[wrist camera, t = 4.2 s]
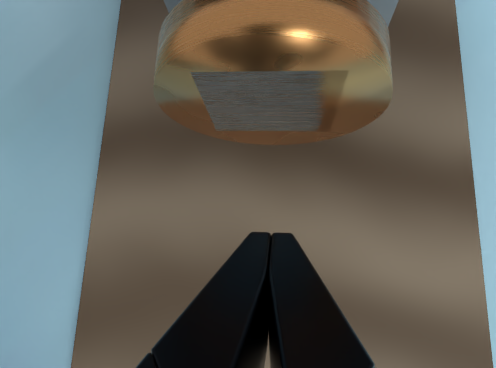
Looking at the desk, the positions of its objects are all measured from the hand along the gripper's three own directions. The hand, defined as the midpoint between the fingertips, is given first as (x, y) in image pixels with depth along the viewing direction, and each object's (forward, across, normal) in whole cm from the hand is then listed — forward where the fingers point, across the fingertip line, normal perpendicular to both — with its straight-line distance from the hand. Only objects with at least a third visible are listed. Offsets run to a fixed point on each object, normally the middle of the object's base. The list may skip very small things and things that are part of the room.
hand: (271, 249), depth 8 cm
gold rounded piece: (+7, 0, -3) cm, 8 cm away
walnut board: (+9, 0, +3) cm, 9 cm away
